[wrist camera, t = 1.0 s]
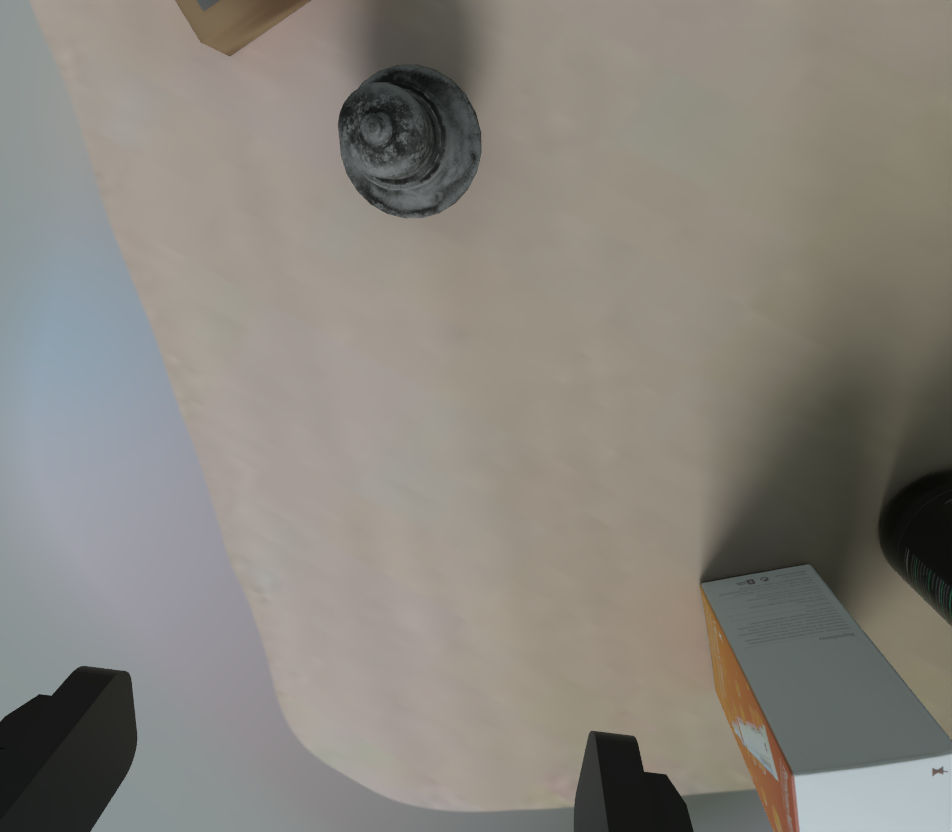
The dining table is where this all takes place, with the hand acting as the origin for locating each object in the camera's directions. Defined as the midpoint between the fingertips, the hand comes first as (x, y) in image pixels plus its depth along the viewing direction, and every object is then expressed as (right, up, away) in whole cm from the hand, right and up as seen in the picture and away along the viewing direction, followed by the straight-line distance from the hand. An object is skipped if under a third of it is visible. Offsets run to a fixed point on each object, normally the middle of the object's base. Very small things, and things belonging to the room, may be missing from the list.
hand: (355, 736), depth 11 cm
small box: (+19, -7, +27) cm, 33 cm away
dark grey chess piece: (-1, +18, +19) cm, 26 cm away
